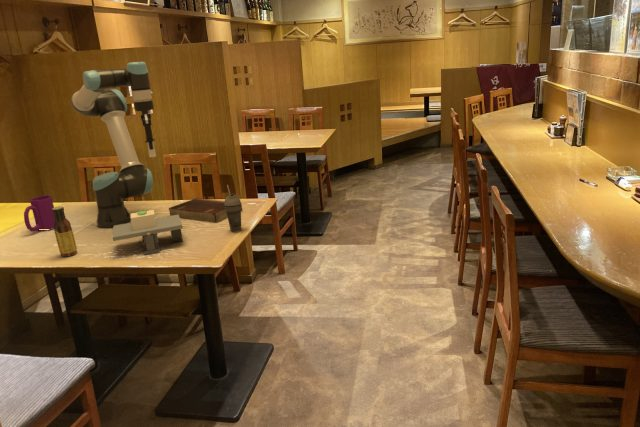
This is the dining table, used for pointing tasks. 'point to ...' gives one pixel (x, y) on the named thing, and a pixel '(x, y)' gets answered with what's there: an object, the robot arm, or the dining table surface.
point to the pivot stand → (152, 241)
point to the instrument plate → (141, 232)
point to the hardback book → (201, 210)
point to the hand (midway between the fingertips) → (152, 156)
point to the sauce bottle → (64, 233)
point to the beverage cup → (233, 211)
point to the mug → (40, 213)
